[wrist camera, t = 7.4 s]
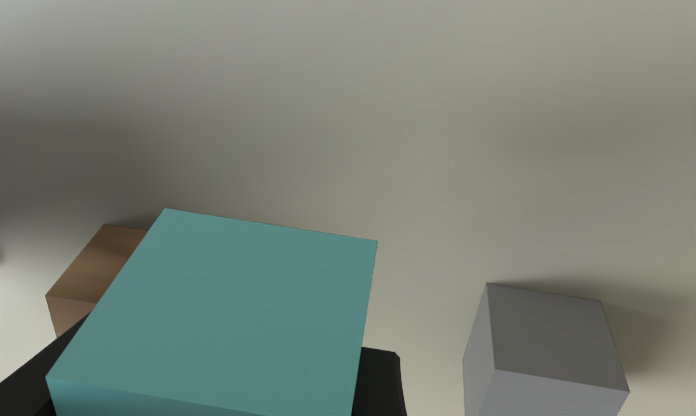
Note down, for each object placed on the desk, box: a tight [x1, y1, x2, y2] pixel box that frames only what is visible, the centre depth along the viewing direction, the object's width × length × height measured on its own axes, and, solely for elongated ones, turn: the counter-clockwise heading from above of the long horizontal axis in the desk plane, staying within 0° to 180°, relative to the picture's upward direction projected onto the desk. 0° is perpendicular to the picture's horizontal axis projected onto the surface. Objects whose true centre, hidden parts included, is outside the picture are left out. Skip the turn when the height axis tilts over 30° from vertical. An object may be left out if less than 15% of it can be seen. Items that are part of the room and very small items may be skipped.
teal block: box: [46, 208, 377, 416], centre depth 10 cm, size 4×4×4 cm
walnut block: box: [45, 224, 148, 338], centre depth 21 cm, size 4×4×4 cm
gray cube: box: [463, 283, 630, 416], centre depth 20 cm, size 4×4×4 cm
